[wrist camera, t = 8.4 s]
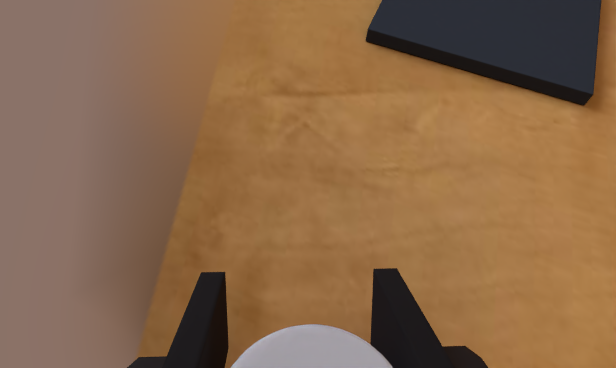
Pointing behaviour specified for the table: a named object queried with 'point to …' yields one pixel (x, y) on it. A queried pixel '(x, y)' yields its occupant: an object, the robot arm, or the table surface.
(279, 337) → the pill bottle
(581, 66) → the mat
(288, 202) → the table surface
